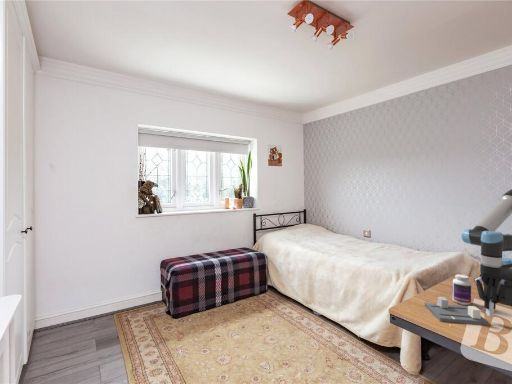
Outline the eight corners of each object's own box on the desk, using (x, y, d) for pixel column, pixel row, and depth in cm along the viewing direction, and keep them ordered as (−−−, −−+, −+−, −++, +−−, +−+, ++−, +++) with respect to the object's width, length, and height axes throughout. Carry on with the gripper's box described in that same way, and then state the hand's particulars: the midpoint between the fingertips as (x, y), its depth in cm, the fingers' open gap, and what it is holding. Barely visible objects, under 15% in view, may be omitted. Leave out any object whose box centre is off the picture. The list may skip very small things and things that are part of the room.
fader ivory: (474, 314, 126) (475, 306, 126) (480, 318, 122) (480, 310, 122) (467, 314, 127) (468, 305, 127) (473, 318, 123) (473, 309, 123)
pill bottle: (474, 306, 139) (475, 279, 139) (457, 305, 141) (457, 278, 140) (465, 300, 147) (466, 274, 147) (449, 298, 148) (449, 273, 148)
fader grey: (443, 304, 137) (444, 297, 136) (448, 308, 133) (448, 300, 133) (437, 304, 137) (437, 296, 137) (441, 307, 133) (441, 299, 133)
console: (467, 308, 136) (467, 305, 136) (489, 325, 120) (489, 321, 120) (424, 305, 140) (424, 302, 140) (440, 321, 124) (440, 317, 124)
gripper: (501, 263, 125) (499, 313, 126) (470, 261, 128) (468, 310, 128) (513, 268, 118) (512, 320, 118) (480, 266, 120) (478, 318, 121)
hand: (489, 315), depth 123 cm, fingers closed
